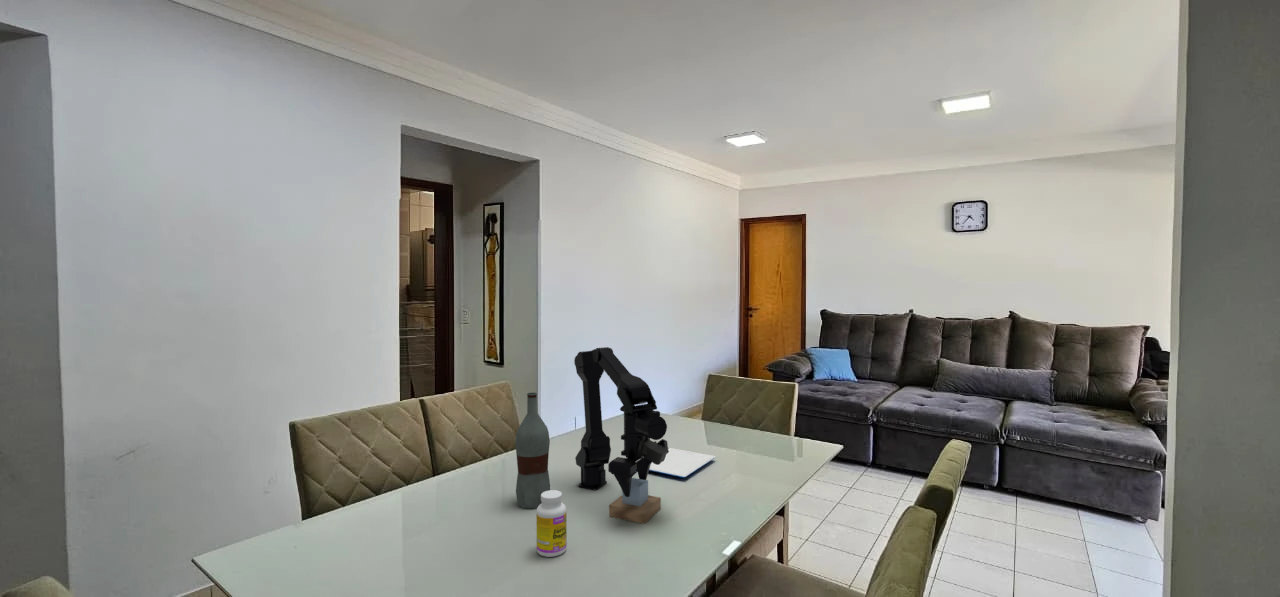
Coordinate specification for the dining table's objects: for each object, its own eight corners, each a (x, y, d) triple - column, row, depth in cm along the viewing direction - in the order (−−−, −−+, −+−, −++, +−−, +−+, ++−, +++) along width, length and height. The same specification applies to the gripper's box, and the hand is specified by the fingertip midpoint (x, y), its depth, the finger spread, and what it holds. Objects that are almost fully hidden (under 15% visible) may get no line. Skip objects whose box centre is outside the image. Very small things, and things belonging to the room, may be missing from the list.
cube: (622, 503, 141) (622, 483, 141) (631, 496, 146) (631, 477, 146) (639, 506, 139) (639, 486, 139) (648, 499, 144) (648, 480, 144)
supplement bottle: (553, 561, 118) (552, 502, 118) (530, 553, 122) (529, 496, 121) (572, 548, 124) (572, 492, 123) (550, 541, 127) (549, 486, 127)
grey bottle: (534, 493, 156) (532, 388, 155) (557, 500, 151) (556, 392, 150) (508, 504, 148) (507, 394, 147) (532, 512, 143) (531, 398, 142)
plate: (716, 461, 183) (716, 455, 183) (684, 482, 164) (684, 476, 164) (658, 451, 195) (658, 445, 195) (622, 469, 176) (622, 463, 176)
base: (609, 516, 140) (609, 505, 140) (627, 502, 149) (626, 491, 149) (644, 523, 136) (644, 511, 136) (660, 508, 145) (660, 497, 145)
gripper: (648, 444, 130) (648, 509, 131) (677, 425, 147) (677, 483, 147) (606, 438, 135) (607, 501, 135) (639, 421, 152) (640, 477, 152)
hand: (635, 490), depth 142 cm, fingers open, 9 cm apart
